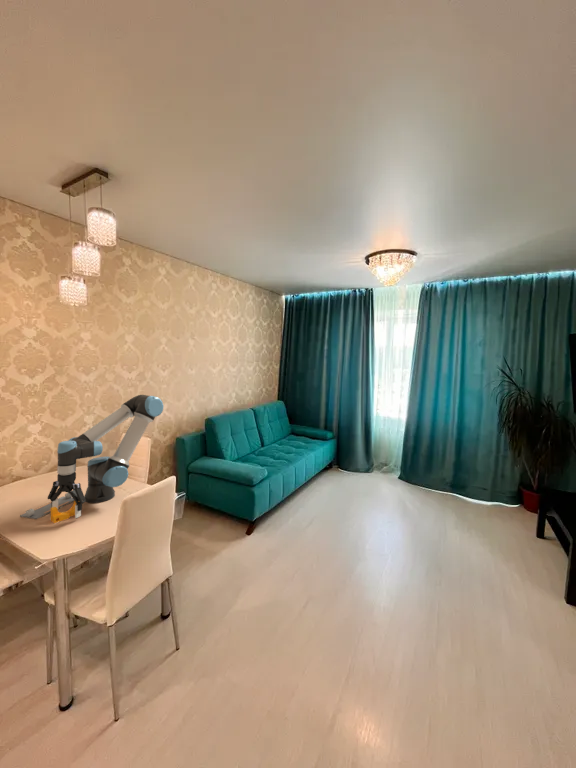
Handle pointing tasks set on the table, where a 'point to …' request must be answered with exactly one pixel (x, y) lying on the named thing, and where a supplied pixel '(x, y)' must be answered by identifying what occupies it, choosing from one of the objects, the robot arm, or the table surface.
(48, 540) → the table surface
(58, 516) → the pipe clamp
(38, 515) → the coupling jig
